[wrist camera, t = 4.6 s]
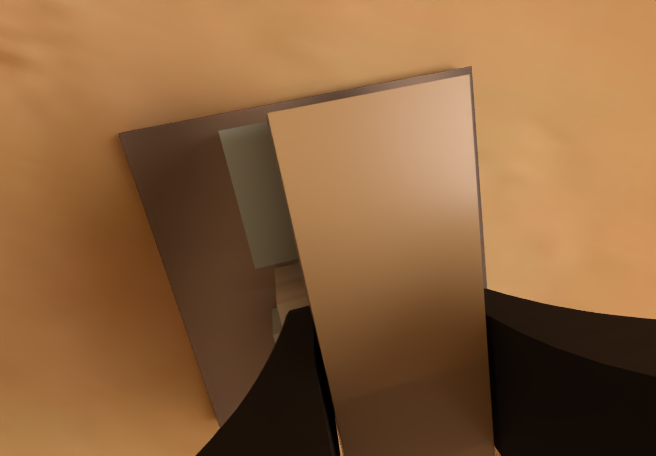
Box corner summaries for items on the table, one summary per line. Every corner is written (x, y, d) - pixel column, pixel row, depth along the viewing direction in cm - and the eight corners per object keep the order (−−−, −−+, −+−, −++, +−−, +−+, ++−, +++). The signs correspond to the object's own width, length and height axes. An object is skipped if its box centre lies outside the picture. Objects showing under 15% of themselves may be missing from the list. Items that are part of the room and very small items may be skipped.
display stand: (460, 69, 14) (530, 46, 11) (482, 345, 18) (539, 402, 14) (126, 133, 13) (68, 133, 9) (223, 417, 17) (210, 502, 13)
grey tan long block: (372, 99, 10) (469, 74, 5) (420, 432, 14) (503, 597, 9) (266, 120, 10) (267, 113, 5) (343, 456, 13) (387, 640, 8)
